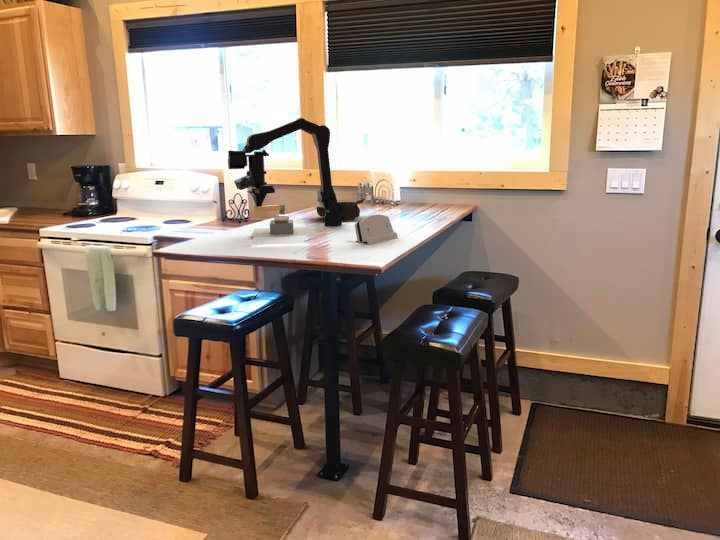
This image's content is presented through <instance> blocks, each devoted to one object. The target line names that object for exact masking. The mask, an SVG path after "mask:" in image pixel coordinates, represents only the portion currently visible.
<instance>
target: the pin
mask: <svg viewBox="0 0 720 540" xmlns="http://www.w3.org/2000/svg"><path fill="white" fill-rule="evenodd" d="M273 220H274V222H275V223H287V222H289V220H290V214H288V213H285V214H279V213H278V214H277V213H276V214H274V215H273Z"/></svg>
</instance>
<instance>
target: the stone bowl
mask: <svg viewBox="0 0 720 540" xmlns="http://www.w3.org/2000/svg"><path fill="white" fill-rule="evenodd" d="M365 200H366V198H365V197H364V198H362V199H358V200H344V201H337V203H338V204H340V205H341V206H342V207H343V211H342V213H341V215H342V222H350V221H352V220H355V219H358V218H359V217H360V214H361V209H360V207H359V206H358V205H359V204H363V203H364V201H365ZM309 208H316V213H317V215H318V216H319V217H323V218H324V215H325V212H327V211H325V209H324V207H322V206H321V205H320V203H319V204H313V205H309Z"/></svg>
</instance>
